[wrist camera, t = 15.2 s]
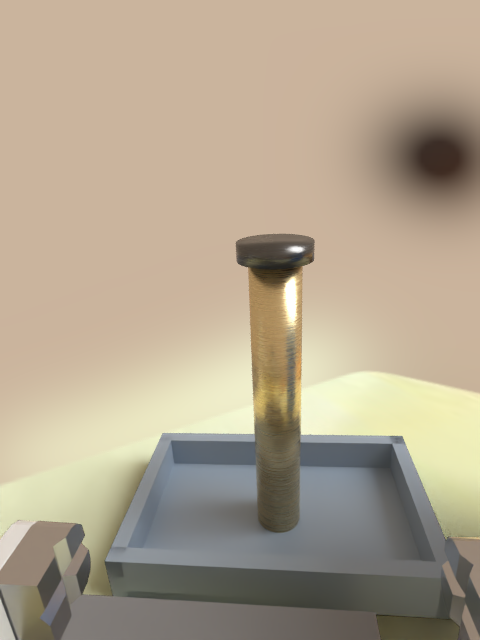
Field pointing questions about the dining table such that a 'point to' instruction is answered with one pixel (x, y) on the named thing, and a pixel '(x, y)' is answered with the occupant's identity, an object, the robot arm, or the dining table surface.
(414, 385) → the dining table surface
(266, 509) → the lock pin
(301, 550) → the tray
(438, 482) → the dining table surface
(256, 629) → the block
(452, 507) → the dining table surface
